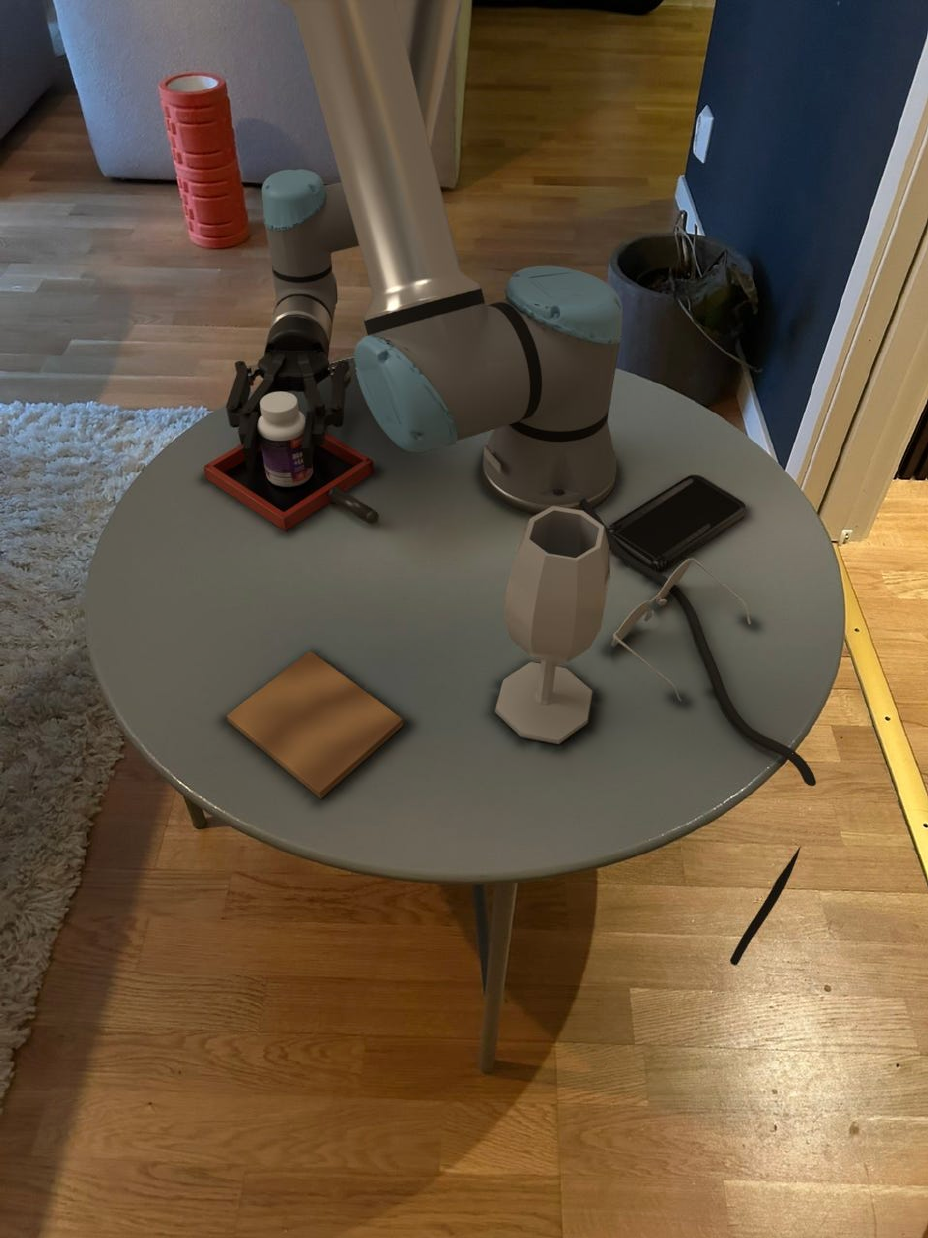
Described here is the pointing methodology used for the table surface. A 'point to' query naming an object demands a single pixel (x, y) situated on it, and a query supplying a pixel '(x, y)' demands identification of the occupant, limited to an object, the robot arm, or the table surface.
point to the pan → (291, 505)
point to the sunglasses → (642, 608)
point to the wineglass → (554, 621)
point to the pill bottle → (282, 439)
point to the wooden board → (315, 723)
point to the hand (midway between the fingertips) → (277, 458)
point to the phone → (676, 522)
